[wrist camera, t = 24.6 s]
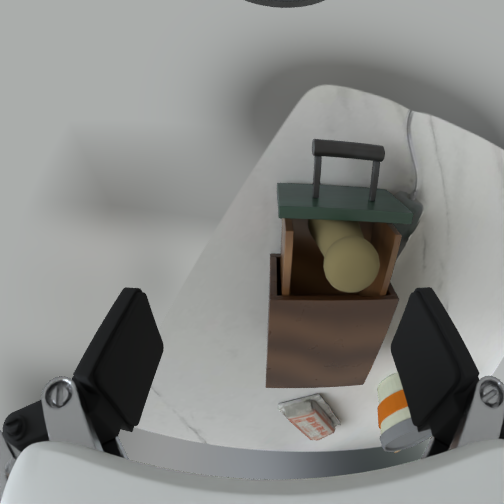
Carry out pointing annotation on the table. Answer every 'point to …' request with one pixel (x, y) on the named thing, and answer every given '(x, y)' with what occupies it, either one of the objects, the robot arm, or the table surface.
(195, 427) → the table surface
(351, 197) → the drawer
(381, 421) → the reusable coffee cup
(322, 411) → the packaged product
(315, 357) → the cabinet
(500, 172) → the table surface
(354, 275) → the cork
